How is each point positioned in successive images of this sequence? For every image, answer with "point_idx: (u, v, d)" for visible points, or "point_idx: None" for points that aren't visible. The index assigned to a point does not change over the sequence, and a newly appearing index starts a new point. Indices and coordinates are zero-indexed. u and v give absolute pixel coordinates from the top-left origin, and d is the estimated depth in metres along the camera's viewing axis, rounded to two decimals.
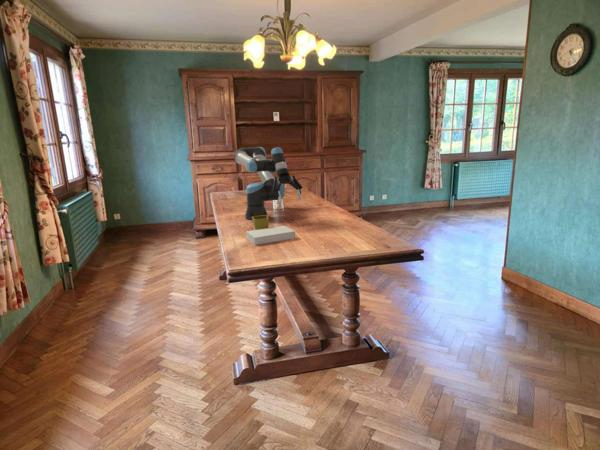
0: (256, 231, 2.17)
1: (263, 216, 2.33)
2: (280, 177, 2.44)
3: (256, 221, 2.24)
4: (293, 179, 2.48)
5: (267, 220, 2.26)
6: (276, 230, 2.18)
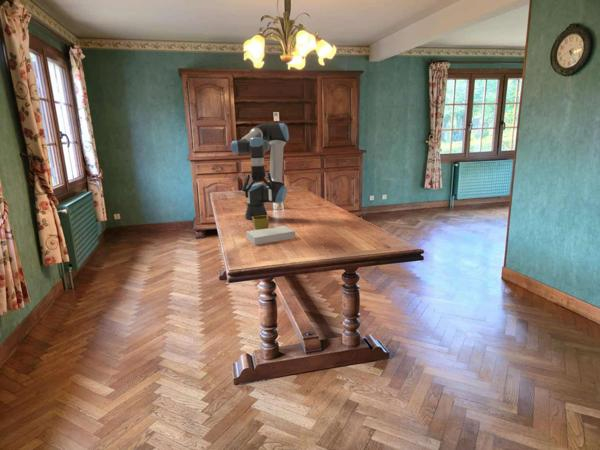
0: (256, 231, 2.17)
1: (263, 216, 2.33)
2: (253, 175, 2.19)
3: (256, 221, 2.24)
4: (268, 177, 2.24)
5: (267, 220, 2.26)
6: (276, 230, 2.18)
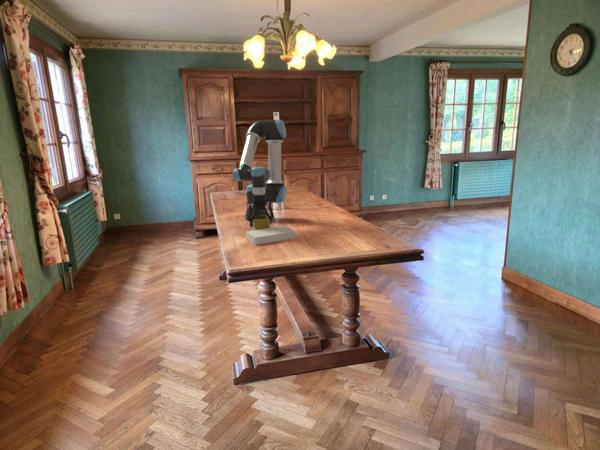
0: (256, 231, 2.17)
1: (263, 216, 2.33)
2: (255, 203, 2.24)
3: (256, 221, 2.24)
4: (268, 205, 2.29)
5: (267, 220, 2.26)
6: (276, 230, 2.18)
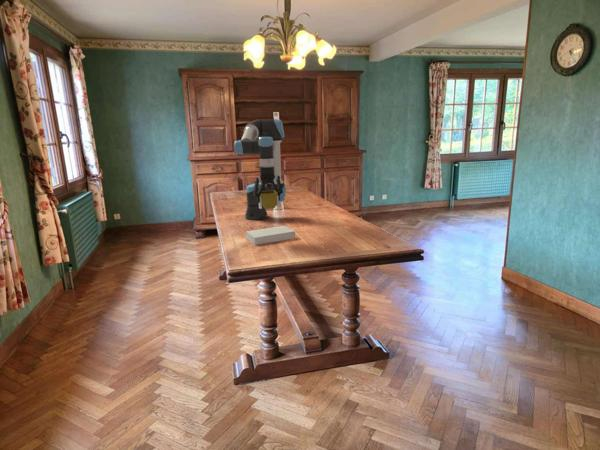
0: (256, 231, 2.17)
1: (271, 191, 2.15)
2: (262, 177, 2.07)
3: (264, 196, 2.07)
4: (277, 180, 2.11)
5: (275, 195, 2.08)
6: (276, 230, 2.18)
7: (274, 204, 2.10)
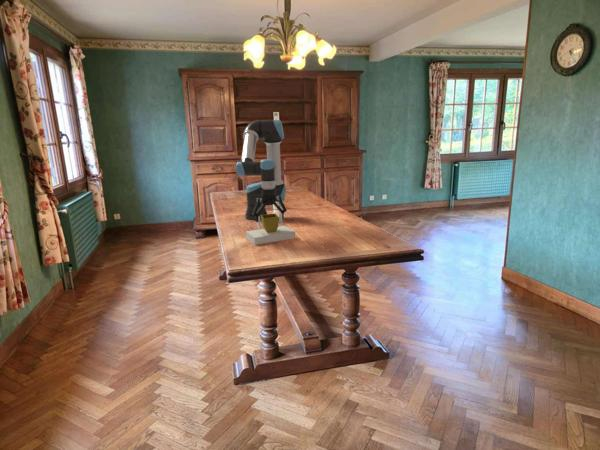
0: (256, 231, 2.17)
1: (272, 214, 2.19)
2: (264, 199, 2.09)
3: (265, 220, 2.10)
4: (279, 200, 2.14)
5: (277, 219, 2.12)
6: (276, 230, 2.18)
7: (276, 228, 2.13)
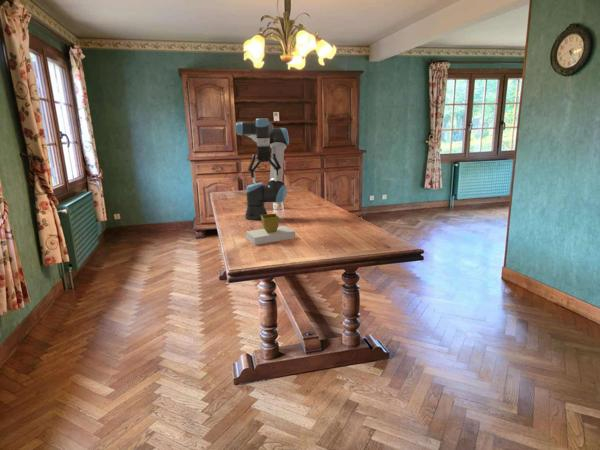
0: (256, 231, 2.17)
1: (272, 215, 2.19)
2: (259, 155, 2.24)
3: (265, 220, 2.10)
4: (273, 157, 2.29)
5: (277, 219, 2.12)
6: (276, 230, 2.18)
7: (276, 228, 2.13)
